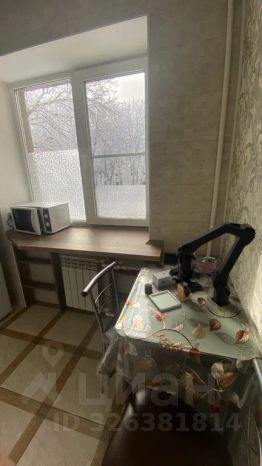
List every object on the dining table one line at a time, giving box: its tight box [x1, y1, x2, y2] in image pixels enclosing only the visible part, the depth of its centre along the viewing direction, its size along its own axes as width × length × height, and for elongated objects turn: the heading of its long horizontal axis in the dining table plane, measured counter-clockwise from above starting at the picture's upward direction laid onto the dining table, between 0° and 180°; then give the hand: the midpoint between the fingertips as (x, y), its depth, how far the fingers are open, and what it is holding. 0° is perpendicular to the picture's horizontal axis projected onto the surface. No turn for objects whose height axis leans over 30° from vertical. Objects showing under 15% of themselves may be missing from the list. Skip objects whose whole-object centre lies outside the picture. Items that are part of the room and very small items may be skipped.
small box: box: [177, 252, 197, 269], centre depth 128 cm, size 11×6×10 cm, turn 134°
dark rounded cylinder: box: [144, 283, 153, 296], centre depth 108 cm, size 4×4×4 cm
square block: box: [176, 282, 192, 302], centre depth 103 cm, size 5×5×7 cm
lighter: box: [200, 256, 217, 275], centre depth 124 cm, size 8×3×10 cm, turn 77°
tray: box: [148, 289, 182, 313], centre depth 101 cm, size 12×11×1 cm
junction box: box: [150, 268, 177, 291], centre depth 115 cm, size 7×13×6 cm, turn 112°
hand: (183, 294), depth 103 cm, fingers closed on square block, 4 cm apart
